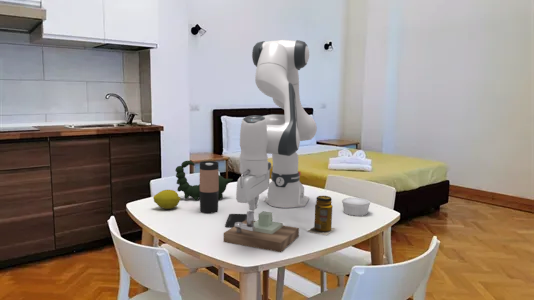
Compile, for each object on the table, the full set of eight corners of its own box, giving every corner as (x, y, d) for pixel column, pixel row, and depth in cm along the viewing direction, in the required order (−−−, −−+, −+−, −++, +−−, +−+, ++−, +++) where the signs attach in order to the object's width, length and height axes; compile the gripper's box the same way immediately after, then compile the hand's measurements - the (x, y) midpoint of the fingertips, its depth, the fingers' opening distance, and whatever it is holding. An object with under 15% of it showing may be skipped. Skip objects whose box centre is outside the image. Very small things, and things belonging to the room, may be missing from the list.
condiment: (335, 228, 150) (336, 196, 149) (326, 235, 143) (328, 201, 141) (316, 225, 154) (317, 193, 152) (307, 232, 146) (308, 198, 145)
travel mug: (208, 207, 175) (208, 160, 172) (222, 210, 170) (222, 162, 168) (195, 211, 169) (195, 162, 166) (209, 215, 164) (209, 164, 162)
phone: (249, 214, 164) (246, 226, 149) (249, 216, 164) (246, 229, 149) (229, 213, 164) (224, 225, 149) (229, 216, 164) (224, 228, 149)
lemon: (181, 206, 176) (181, 187, 175) (179, 211, 168) (179, 192, 167) (155, 206, 175) (155, 187, 174) (152, 211, 167) (151, 192, 166)
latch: (232, 227, 135) (233, 209, 134) (238, 225, 137) (238, 207, 136) (251, 231, 131) (251, 213, 130) (256, 229, 133) (256, 211, 132)
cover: (258, 222, 146) (259, 208, 145) (282, 226, 142) (283, 211, 141) (247, 230, 138) (247, 214, 137) (272, 234, 134) (272, 218, 133)
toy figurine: (178, 206, 182) (235, 199, 186) (173, 163, 180) (231, 158, 183) (179, 200, 192) (233, 194, 195) (175, 160, 189) (230, 155, 193)
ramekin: (341, 208, 178) (342, 196, 177) (368, 210, 176) (369, 198, 175) (341, 216, 167) (342, 203, 166) (370, 218, 165) (371, 205, 164)
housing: (246, 227, 149) (246, 215, 149) (298, 236, 141) (299, 223, 141) (223, 241, 135) (223, 228, 134) (280, 252, 127) (281, 238, 126)
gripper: (250, 174, 122) (250, 220, 124) (273, 162, 141) (272, 202, 143) (231, 172, 124) (231, 217, 126) (255, 161, 143) (255, 200, 145)
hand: (253, 209), depth 134 cm, fingers closed
